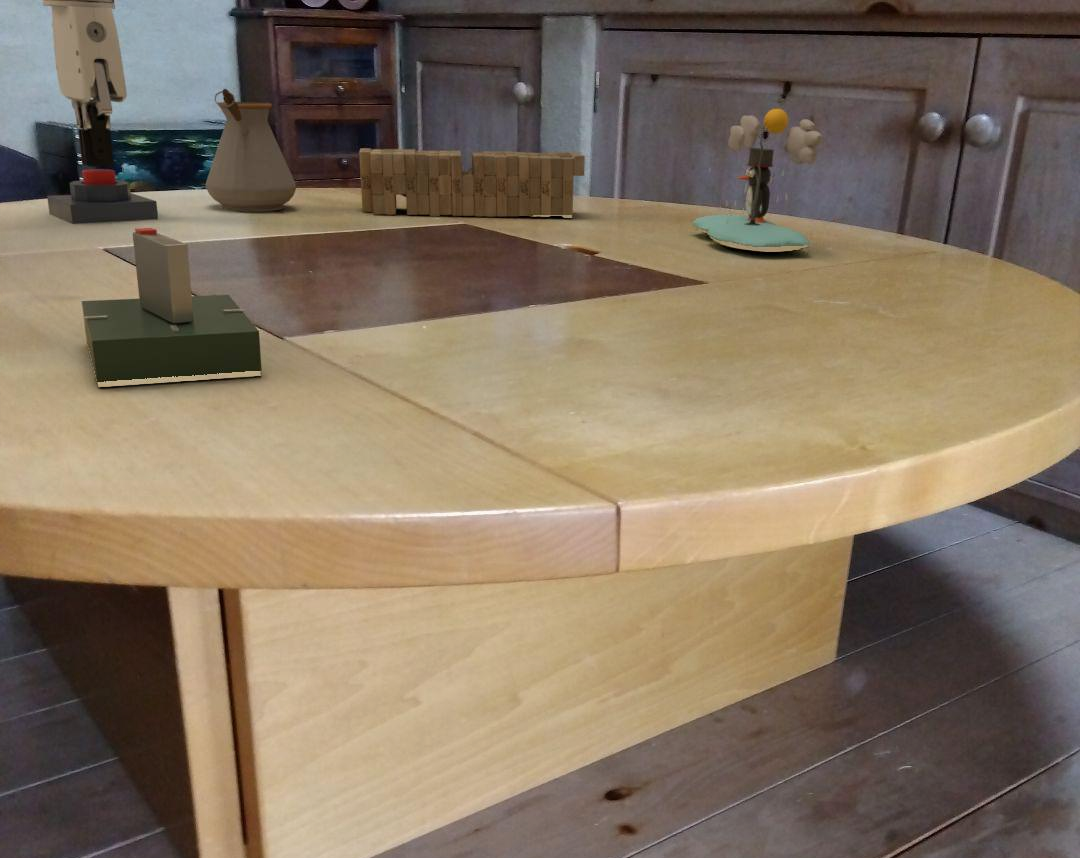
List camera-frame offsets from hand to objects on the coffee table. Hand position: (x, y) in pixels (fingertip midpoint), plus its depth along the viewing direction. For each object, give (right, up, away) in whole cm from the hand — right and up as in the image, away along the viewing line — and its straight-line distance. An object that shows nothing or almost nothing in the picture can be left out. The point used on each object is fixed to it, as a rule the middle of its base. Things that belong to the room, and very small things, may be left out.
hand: (98, 165), depth 133 cm
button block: (0, -6, +2) cm, 6 cm away
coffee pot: (+15, -3, +10) cm, 18 cm away
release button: (0, -2, +1) cm, 2 cm away
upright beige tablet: (+27, -29, -58) cm, 70 cm away
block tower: (+43, -1, +18) cm, 47 cm away
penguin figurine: (+77, -10, 0) cm, 78 cm away
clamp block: (+27, -32, -57) cm, 71 cm away
